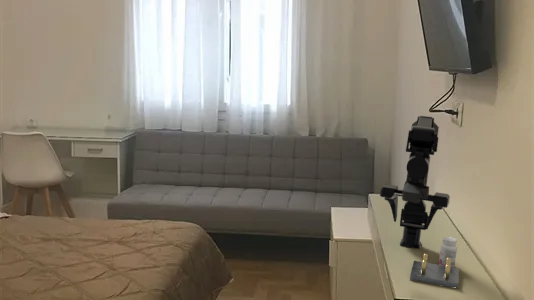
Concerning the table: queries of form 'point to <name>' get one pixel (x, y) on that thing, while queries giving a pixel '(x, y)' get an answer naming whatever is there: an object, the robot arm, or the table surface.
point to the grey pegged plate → (435, 273)
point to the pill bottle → (448, 251)
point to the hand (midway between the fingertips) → (411, 224)
